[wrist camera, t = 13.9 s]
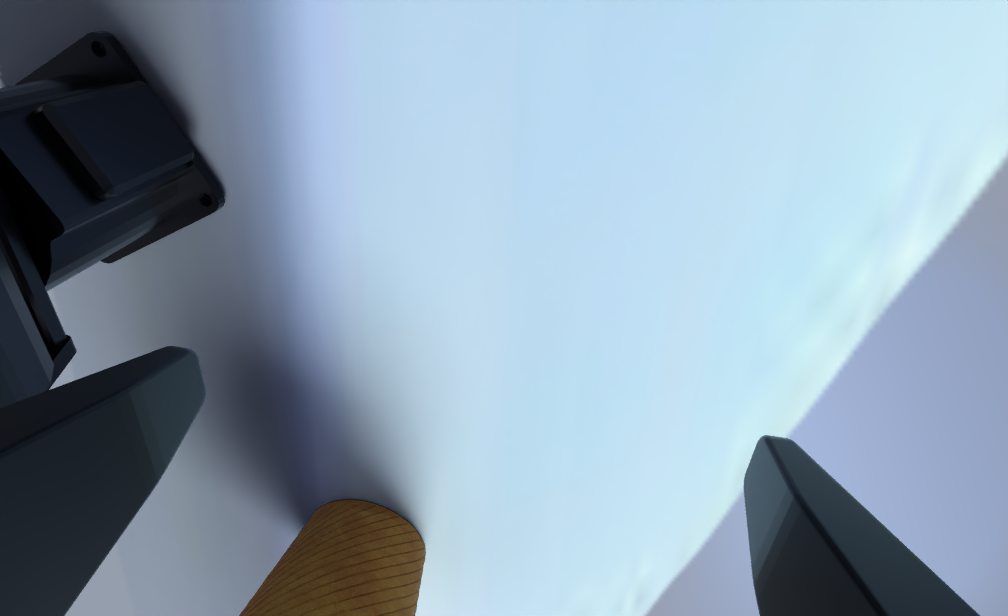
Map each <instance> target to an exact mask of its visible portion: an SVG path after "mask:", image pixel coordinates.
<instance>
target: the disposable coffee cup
mask: <svg viewBox="0 0 1008 616" xmlns="http://www.w3.org/2000/svg"><path fill="white" fill-rule="evenodd" d="M425 554H426V552H425V546H424V543H423V541H422V539H421V536H420V535H419V534H418V533H417V531H416V530H415V529H414V527H413V526H412V525H411V524H410V523H409V522H408V521H406V520H405V519H404V518H402V517H401V516H399V515H398V514H396V513H395V512H393V511H391V510H389V509H387V508H385V507H382V506H379V505H377V504H374V503H370V502H365V501H359V500H338V501H334V502H330V503H327V504H325V505H323V506H321V507H320V508H319V509H317V510H316V511H315V512H314V513H313V514H312V516H311V518H310V519H309V521H308V522H307V523H306V525H305V526H304V527H303V529H302V530H301V532H300V533H299V534H298V536H297V537H296V539H295V540H294V541H293V542H292V544H291V545H290V547H289V548H288V550H287V551H286V552H285V553H284V555H283V556H282V558H281V559H280V561H279V562H278V563H277V565H276V566H275V567H274V569H273V570H272V571H271V573H270V574H269V575H268V576H267V578H266V579H265V581H264V582H263V584H262V585H261V587H260V588H259V589H258V591H257V592H256V594H255V595H254V596H253V598H252V599H251V600H250V602H249V603H248V605H247V606H246V607H245V609H244V610H243V611H242V612H241V614H240V615H239V616H415V612H416V608H417V600H418V596H419V588H420V584H421V577H422V572H423V565H424V561H425Z"/></svg>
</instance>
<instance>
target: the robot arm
mask: <svg viewBox="0 0 1008 616" xmlns="http://www.w3.org/2000/svg"><path fill="white" fill-rule="evenodd" d="M100 43H102V44H103V45H104V46H105V49H106V54H105V53H104V52H103V51H102V49H101V47H100ZM205 194H207V195H209V196H210V197H211V199H212V203H211V202H209V201H208V200H207V199H206V196H205ZM224 203H225V198H224V195H223V193H222V191H221V189H220V188H219V186H218V185H217V184H216V182H215V181H214V179H213V178H212V176H211V175H210V173H209V172H208V171H207V169H206V168H205V166H204V165H203V163H202V162H201V160H200V159H199V158H198V156H197V155H196V153H195V152H194V150H193V149H192V147H191V146H190V144H189V143H188V142H187V140H186V139H185V137H184V136H183V134H182V133H181V131H180V130H179V129H178V127H177V126H176V124H175V123H174V121H173V120H172V118H171V117H170V116H169V114H168V113H167V111H166V110H165V108H164V107H163V105H162V104H161V102H160V101H159V100H158V98H157V97H156V95H155V94H154V92H153V91H152V89H151V88H150V87H149V85H148V84H147V82H146V81H145V79H144V78H143V76H142V75H141V74H140V72H139V71H138V69H137V68H136V66H135V65H134V63H133V62H132V61H131V59H130V58H129V56H128V55H127V53H126V52H125V50H124V49H123V47H122V46H121V45H120V43H119V42H118V40H117V39H116V38H115V37H114V36H113V35H111V34H110V33H108V32H104V31H99V32H92V33H89V34H87V35H86V36H84V37H83V38H81V39H80V40H78V41H77V42H76V43H74V44H73V45H71V46H70V47H68V48H67V49H66V50H64V51H63V52H61V53H60V54H59V55H57V56H56V57H54V58H53V59H51V60H50V61H49V62H47V63H46V64H44V65H43V66H41V67H40V68H39V69H37V70H36V71H34V72H33V73H31V74H30V75H29V76H27V77H26V78H24V79H23V80H21V81H20V82H19V83H17V84H16V85H14V86H10V87H5V88H0V616H65V614H66V613H67V611H68V610H69V608H70V607H71V606H72V604H73V603H74V601H75V600H76V599H77V597H78V596H79V594H80V593H81V591H82V590H83V589H84V587H85V586H86V584H87V583H88V581H89V580H90V579H91V577H92V576H93V575H94V573H95V572H96V570H97V569H98V567H99V566H100V565H101V563H102V562H103V560H104V559H105V557H106V556H107V555H108V553H109V552H110V550H111V549H112V548H113V546H114V545H115V543H116V542H117V541H118V539H119V538H120V536H121V535H122V534H123V532H124V531H125V529H126V528H127V526H128V525H129V524H130V522H131V521H132V519H133V518H134V517H135V515H136V514H137V512H138V511H139V509H140V508H141V507H142V505H143V504H144V502H145V501H146V500H147V498H148V497H149V495H150V494H151V492H152V491H153V489H154V488H155V486H156V485H157V483H158V482H159V480H160V479H161V477H162V475H163V474H164V472H165V470H166V469H167V467H168V465H169V463H170V462H171V460H172V458H173V456H174V454H175V453H176V451H177V449H178V447H179V446H180V444H181V442H182V440H183V439H184V437H185V435H186V433H187V431H188V430H189V428H190V426H191V424H192V423H193V421H194V419H195V417H196V416H197V414H198V412H199V410H200V408H201V407H202V405H203V403H204V400H205V395H206V387H205V383H204V379H203V375H202V370H201V366H200V362H199V358H198V355H197V354H196V352H195V351H194V350H192V349H188V348H181V347H175V346H167V347H164V348H161V349H159V350H156V351H153V352H151V353H148V354H145V355H142V356H140V357H137V358H134V359H132V360H129V361H126V362H124V363H121V364H118V365H116V366H113V367H110V368H107V369H105V370H102V371H99V372H97V373H94V374H91V375H89V376H86V377H83V378H81V379H78V380H75V381H73V382H70V383H67V384H65V385H62V386H59V387H57V388H54V389H51V390H49V389H50V387H51V386H52V384H53V383H54V382H55V381H56V379H57V378H58V377H59V375H60V374H61V373H62V371H63V370H64V369H65V367H66V366H67V364H68V363H69V362H70V360H71V359H72V358H73V356H74V355H75V354H76V352H77V351H76V348H75V346H74V344H73V341H72V339H71V337H70V336H68V335H66V334H65V332H64V330H63V327H62V325H61V323H60V321H59V318H58V316H57V314H56V311H55V309H54V307H53V304H52V302H51V300H50V297H49V295H48V293H47V291H49V290H50V289H52V288H54V287H56V286H57V285H59V284H61V283H62V282H64V281H66V280H68V279H69V278H71V277H73V276H75V275H76V274H78V273H80V272H81V271H83V270H85V269H87V268H88V267H90V266H92V265H94V264H95V263H97V262H99V261H102V262H104V263H113V262H115V261H117V260H119V259H121V258H123V257H125V256H127V255H129V254H131V253H133V252H135V251H137V250H139V249H141V248H143V247H145V246H147V245H149V244H151V243H153V242H155V241H157V240H159V239H161V238H163V237H165V236H167V235H169V234H171V233H173V232H175V231H177V230H179V229H181V228H183V227H186V226H188V225H190V224H192V223H194V222H196V221H198V220H200V219H202V218H204V217H206V216H208V215H210V214H212V213H214V212H215V211H217V210H219V209H220V208H221V207H223V206H224ZM744 497H745V507H746V517H747V527H748V536H749V547H750V556H751V567H752V575H753V583H754V589H755V595H756V600H757V605H758V609H759V614H760V616H980V615H978V613H976V611H975V610H973V609H972V608H971V607H970V606H969V605H968V604H967V603H966V602H965V601H964V600H963V599H962V598H961V597H959V596H958V595H957V594H956V593H955V592H954V591H953V590H952V589H951V588H950V587H949V586H948V585H947V584H945V582H944V581H942V580H941V579H940V578H939V577H938V576H937V575H936V574H935V573H934V572H933V571H932V570H931V569H930V568H929V567H928V566H926V565H925V564H924V563H923V562H922V561H921V560H920V559H919V558H918V557H917V556H915V554H914V553H912V552H911V551H910V550H909V549H908V548H907V547H906V546H905V545H904V544H903V543H902V542H901V541H899V539H898V538H896V537H895V536H894V535H893V534H892V533H891V532H890V531H889V530H888V529H887V528H886V527H885V526H884V525H883V524H882V523H881V522H879V521H878V520H877V519H876V518H875V517H874V516H873V515H872V514H871V513H870V512H869V511H868V510H867V509H866V508H864V507H863V506H862V505H861V504H860V503H859V502H858V501H857V500H856V499H855V498H854V497H853V496H852V495H851V494H850V493H848V492H847V491H846V490H845V489H844V488H843V487H842V486H841V485H840V484H839V483H838V482H837V481H836V480H835V479H833V478H832V477H831V476H830V475H829V474H828V473H827V472H826V471H825V470H824V469H823V468H822V467H821V466H820V465H819V464H817V463H816V462H815V461H814V460H813V459H812V458H811V457H810V456H809V455H808V454H807V453H806V452H805V451H804V450H803V449H801V448H800V447H799V446H798V445H797V444H796V443H795V442H794V441H792V440H791V439H788V438H782V437H775V436H769V435H765V436H762V437H761V438H760V439H759V441H758V442H757V445H756V447H755V450H754V453H753V455H752V458H751V460H750V463H749V466H748V468H747V471H746V474H745V478H744Z"/></svg>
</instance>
